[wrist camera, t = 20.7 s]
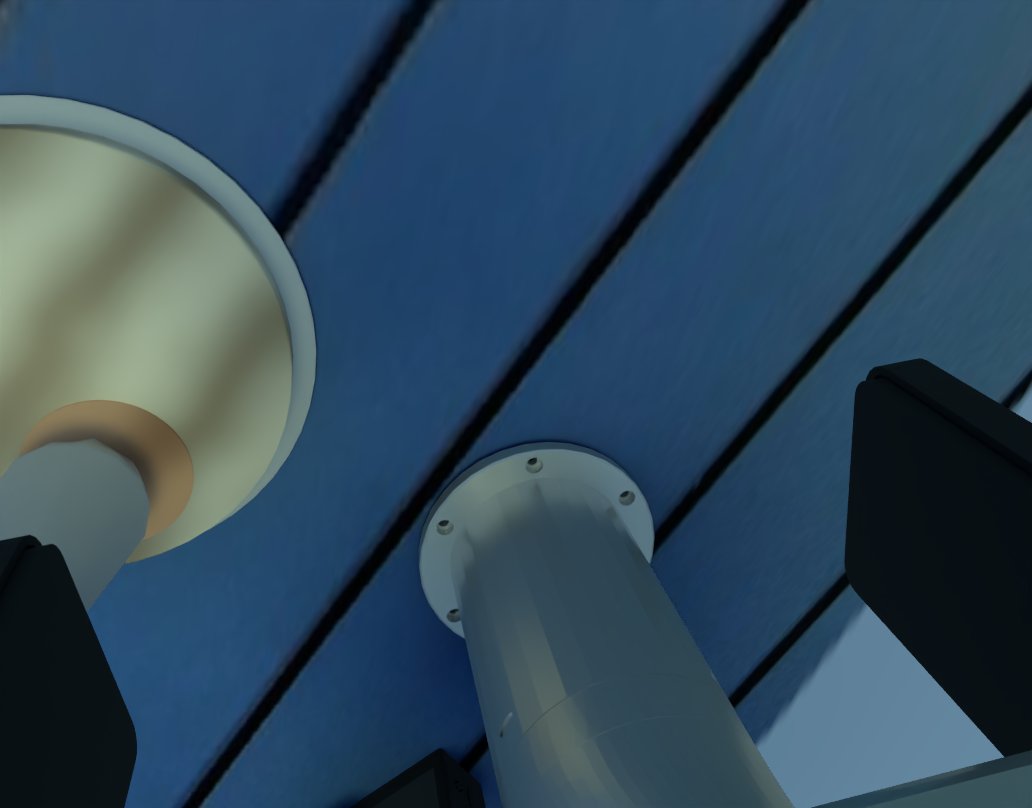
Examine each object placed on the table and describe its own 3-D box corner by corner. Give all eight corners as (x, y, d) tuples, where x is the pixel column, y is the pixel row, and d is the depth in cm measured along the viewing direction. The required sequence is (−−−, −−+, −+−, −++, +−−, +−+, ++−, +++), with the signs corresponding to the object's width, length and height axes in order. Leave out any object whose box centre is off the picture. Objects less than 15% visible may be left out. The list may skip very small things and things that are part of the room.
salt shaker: (147, 548, 39) (72, 773, 28) (6, 527, 38) (-137, 757, 26) (169, 434, 37) (98, 625, 26) (22, 406, 36) (-126, 597, 24)
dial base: (347, 517, 44) (347, 525, 43) (-107, 589, 41) (-115, 599, 40) (271, 72, 35) (270, 73, 34) (-316, 120, 32) (-331, 122, 31)
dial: (372, 283, 39) (381, 336, 32) (173, 602, 43) (147, 703, 37) (-87, 17, 31) (-190, 18, 25) (-269, 433, 36) (-395, 522, 30)
